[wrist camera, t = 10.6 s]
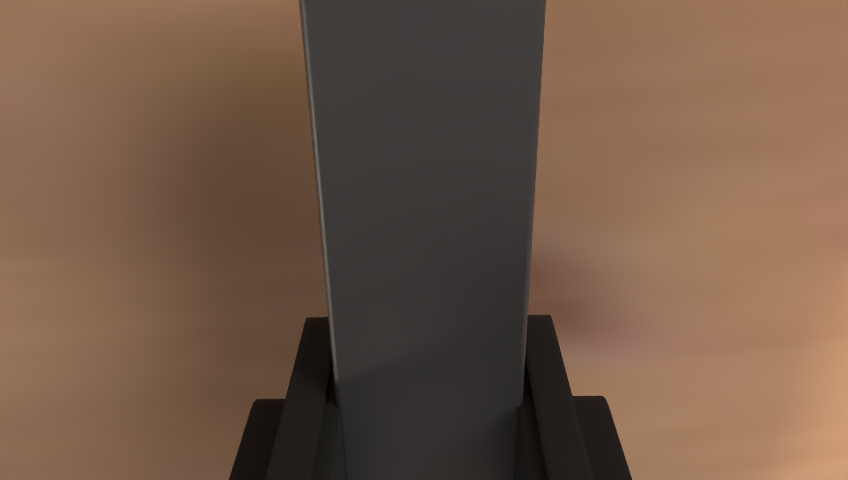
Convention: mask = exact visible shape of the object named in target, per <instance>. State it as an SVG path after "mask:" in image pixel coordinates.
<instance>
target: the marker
mask: <svg viewBox="0 0 848 480" xmlns="http://www.w3.org/2000/svg"><path fill="white" fill-rule="evenodd" d="M299 5H300V16H301V27H302V38H303V48H304V59H305V70H306V81H307V92H308V102H309V113H310V124H311V135H312V146H313V156H314V167H315V178H316V189H317V200H318V210H319V221H320V232H321V243H322V253H323V264H324V275H325V286H326V297H327V307H328V318H329V329H330V340H331V351H332V361H333V372H334V383H335V394H336V405H337V407H338V408H339V409H340V412H341V423H342V434H343V446H344V457H345V468H346V480H513V478H514V460H515V442H516V424H517V407H520V406H522V403H523V387H524V370H525V352H526V335H527V318H528V301H529V283H530V266H531V249H532V232H533V214H534V197H535V180H536V163H537V145H538V128H539V111H540V94H541V76H542V59H543V42H544V25H545V7H546V0H299Z"/></svg>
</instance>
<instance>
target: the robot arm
mask: <svg viewBox="0 0 848 480" xmlns="http://www.w3.org/2000/svg"><path fill="white" fill-rule="evenodd" d="M229 480H346V468H345V457H344V446H343V434H342V423H341V412H340V409H339V408H338V407H337V405H336V394H335V383H334V372H333V361H332V351H331V340H330V329H329V318H328V317H308V318H306V321H305V324H304V328H303V332H302V336H301V340H300V344H299V348H298V352H297V356H296V360H295V364H294V368H293V372H292V375H291V379H290V383H289V387H288V391H287V395H286V399H257V400H256V401H255V402H254V403H253V405H252V408H251V411H250V414H249V417H248V420H247V423H246V427H245V430H244V433H243V436H242V439H241V443H240V446H239V449H238V452H237V456H236V459H235V462H234V465H233V468H232V472H231V475H230V478H229ZM513 480H632V478H631V474H630V471H629V468H628V465H627V462H626V459H625V456H624V453H623V450H622V446H621V443H620V440H619V437H618V434H617V431H616V428H615V425H614V422H613V418H612V415H611V412H610V409H609V406H608V404H607V401H606V399H605V398H604V397H603V396H572V393H571V390H570V386H569V382H568V378H567V374H566V370H565V367H564V363H563V359H562V355H561V351H560V347H559V344H558V340H557V336H556V332H555V328H554V324H553V321H552V318H551V316H550V315H528V318H527V335H526V352H525V370H524V387H523V403H522V406H520V407H517V424H516V442H515V460H514V478H513Z"/></svg>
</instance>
